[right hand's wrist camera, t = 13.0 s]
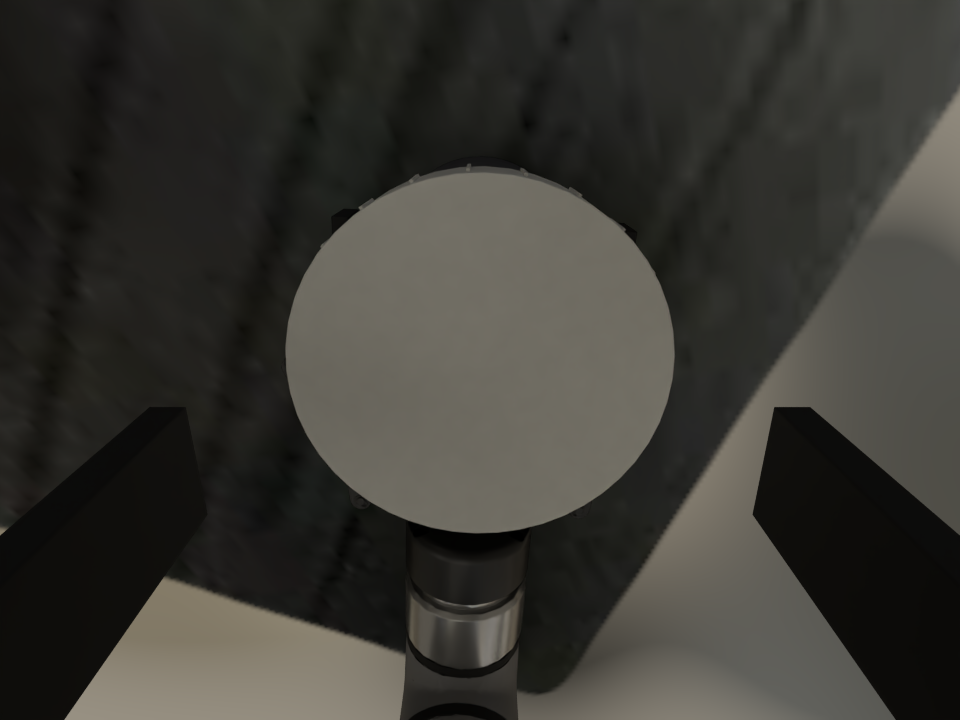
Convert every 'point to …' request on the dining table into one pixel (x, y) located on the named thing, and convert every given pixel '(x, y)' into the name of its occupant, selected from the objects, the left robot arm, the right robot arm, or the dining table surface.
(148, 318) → the dining table surface
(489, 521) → the lid
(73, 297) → the dining table surface
